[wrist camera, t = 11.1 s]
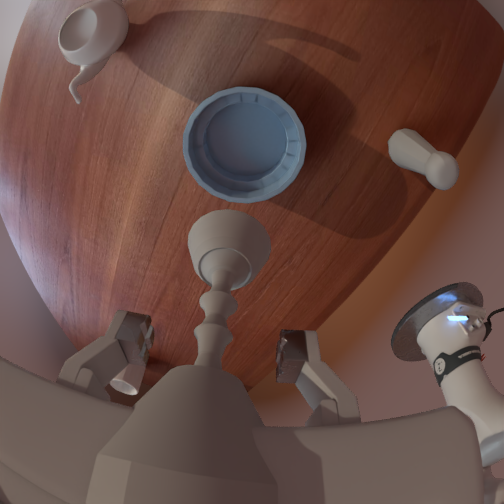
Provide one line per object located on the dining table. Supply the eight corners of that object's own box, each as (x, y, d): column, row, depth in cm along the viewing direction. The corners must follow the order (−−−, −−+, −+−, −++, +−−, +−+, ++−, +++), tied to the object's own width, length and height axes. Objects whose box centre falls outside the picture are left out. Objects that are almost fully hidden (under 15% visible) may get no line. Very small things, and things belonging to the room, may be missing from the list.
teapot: (77, 98, 31) (38, 108, 23) (103, -18, 20) (69, -32, 12) (129, 99, 32) (95, 108, 24) (161, -25, 21) (134, -46, 13)
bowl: (306, 93, 31) (314, 95, 27) (292, 192, 39) (296, 208, 35) (195, 84, 31) (184, 85, 26) (192, 183, 39) (183, 198, 35)
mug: (117, 363, 70) (107, 391, 61) (121, 344, 63) (109, 375, 55) (142, 374, 71) (134, 402, 63) (149, 356, 65) (139, 388, 57)
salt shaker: (419, 130, 32) (472, 156, 22) (412, 166, 36) (459, 202, 25) (386, 121, 32) (434, 144, 22) (379, 159, 36) (422, 194, 25)
